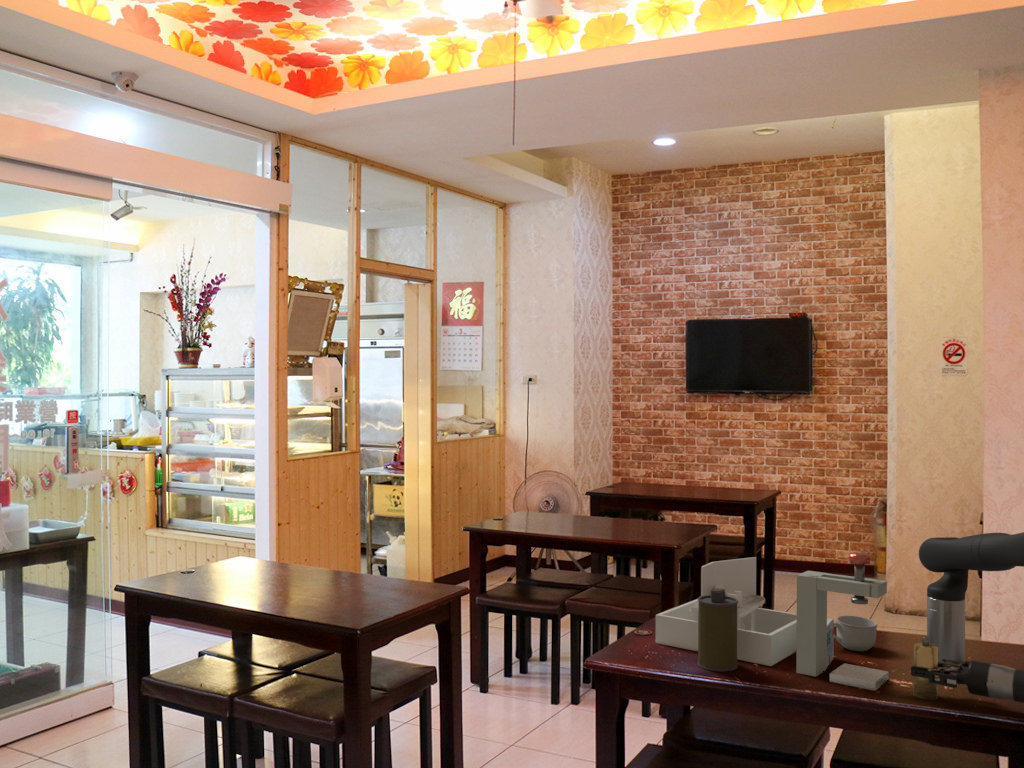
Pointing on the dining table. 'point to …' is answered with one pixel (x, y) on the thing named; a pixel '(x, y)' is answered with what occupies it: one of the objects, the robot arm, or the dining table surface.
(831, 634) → the light bulb box
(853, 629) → the teacup
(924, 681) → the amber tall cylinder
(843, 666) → the plate
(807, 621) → the press frame
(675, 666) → the dining table surface
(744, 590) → the upright panel with ledge
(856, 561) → the ram
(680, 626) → the box
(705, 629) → the canister
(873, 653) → the dining table surface
